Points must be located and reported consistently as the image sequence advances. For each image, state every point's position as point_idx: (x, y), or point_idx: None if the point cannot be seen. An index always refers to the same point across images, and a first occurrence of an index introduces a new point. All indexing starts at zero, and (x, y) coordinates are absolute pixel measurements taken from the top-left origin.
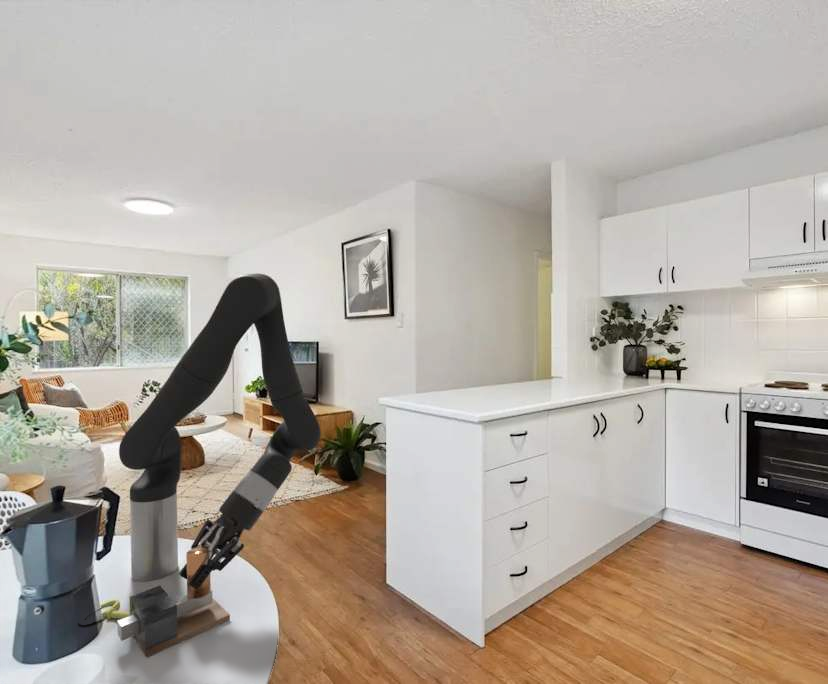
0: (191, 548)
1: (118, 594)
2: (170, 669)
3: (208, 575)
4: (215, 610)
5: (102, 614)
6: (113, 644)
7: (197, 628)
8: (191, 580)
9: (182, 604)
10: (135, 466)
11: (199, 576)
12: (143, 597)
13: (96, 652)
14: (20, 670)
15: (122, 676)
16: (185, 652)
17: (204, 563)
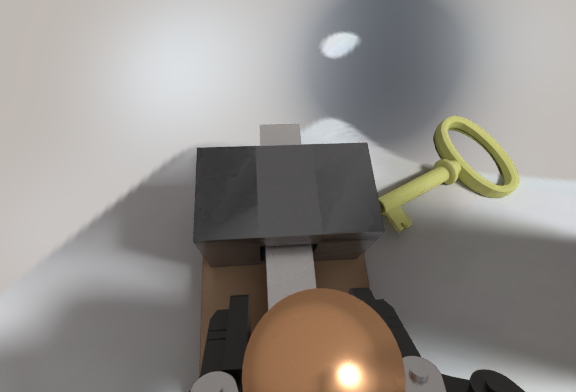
0: (480, 370)
1: (555, 205)
2: (118, 229)
3: None
4: None
5: (449, 152)
6: None
7: (204, 324)
8: (232, 304)
9: (267, 288)
10: None
11: (206, 338)
12: (330, 171)
13: (308, 130)
14: (340, 41)
15: (182, 151)
16: (152, 274)
17: (212, 379)
